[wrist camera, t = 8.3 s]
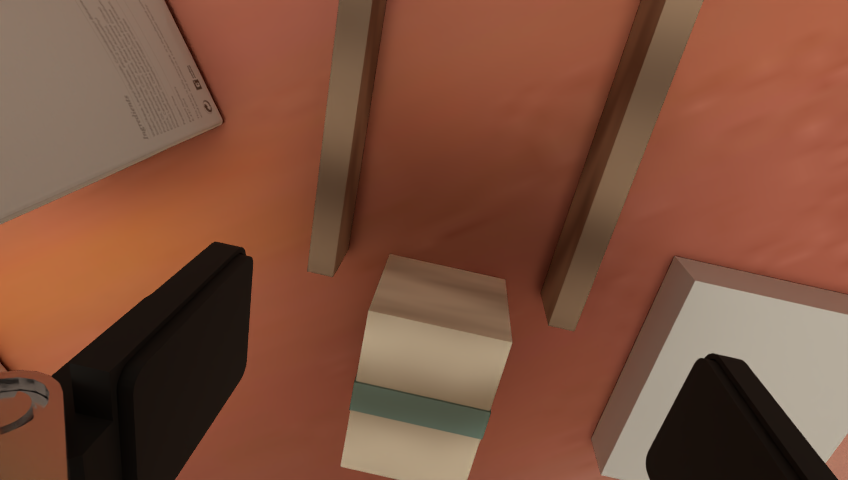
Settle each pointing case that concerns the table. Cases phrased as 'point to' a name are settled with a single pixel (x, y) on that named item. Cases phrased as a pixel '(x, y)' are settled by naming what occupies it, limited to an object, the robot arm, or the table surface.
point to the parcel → (427, 371)
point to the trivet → (734, 337)
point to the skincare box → (90, 94)
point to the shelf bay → (602, 174)
